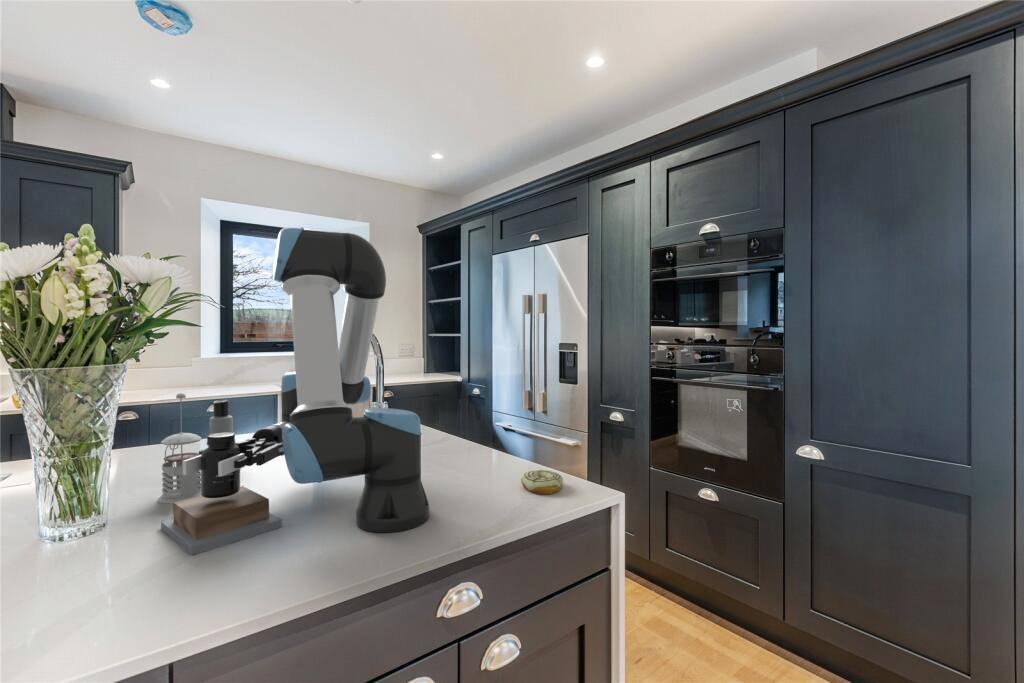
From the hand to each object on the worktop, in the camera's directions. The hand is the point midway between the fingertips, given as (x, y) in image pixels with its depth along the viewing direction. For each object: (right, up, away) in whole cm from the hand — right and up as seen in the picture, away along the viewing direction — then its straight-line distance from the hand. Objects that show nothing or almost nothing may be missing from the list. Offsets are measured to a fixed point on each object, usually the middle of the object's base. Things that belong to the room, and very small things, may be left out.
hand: (202, 468), depth 91 cm
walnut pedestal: (+1, -12, +5) cm, 13 cm away
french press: (-21, -13, +24) cm, 35 cm away
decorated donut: (+67, -13, +30) cm, 75 cm away
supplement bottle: (0, -7, +5) cm, 8 cm away
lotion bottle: (-25, -13, +47) cm, 54 cm away
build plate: (+1, -13, +5) cm, 14 cm away
